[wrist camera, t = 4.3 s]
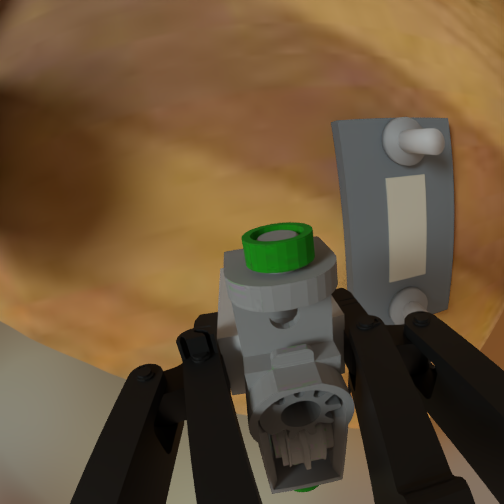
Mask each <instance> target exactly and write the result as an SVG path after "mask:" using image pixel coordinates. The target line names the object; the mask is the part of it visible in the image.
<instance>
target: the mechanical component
mask: <svg viewBox="0 0 504 504" xmlns="http://www.w3.org/2000/svg"><path fill="white" fill-rule="evenodd" d="M242 244H243V249H239V250H233V251H227V252H224V277H225V282H226V287H227V292H228V297H229V299H230V301H231V303H232V308H233V313H234V317H235V322H236V327H237V331H238V336H239V341H240V345H241V350H242V355H243V366H244V378H245V390H246V402H247V413H248V424H249V430H250V434H251V435H252V437H253V439H254V440H256V441H257V442H258V444H259V448H260V452H261V455H262V459H263V463H264V467H265V470H266V474H267V478H268V481H269V484H270V488H271V492H272V494H274V493H280V492H286V491H292V490H294V491H297V492H308V491H311V490H314V489H315V488H316V487H318V486H319V485H321V484H325V483H329V482H334V481H337V480H341V479H342V478H343V471H344V462H345V454H346V443H347V433H348V424H349V422H350V421H351V419H352V416H353V413H354V402H353V399H352V397H351V394H350V392H349V390H348V388H347V386H346V384H345V382H344V380H343V377H342V375H341V355H340V353H339V351H338V349H337V347H336V345H335V343H334V341H333V326H332V301H331V294H332V293H333V292H334V290H335V289H336V287H337V285H338V280H337V262H336V255H335V254H334V252H333V251H332V250H331V249H330V248H329V247H328V246H327V245H326V244H325V243H324V242H323V241H322V240H321V239H320V238H319V237H317V236H316V237H313V230H312V227H311V226H310V225H307V224H304V223H290V222H289V223H277V224H270V225H265V226H261V227H258V228H255V229H252V230H250V231H248V232H246V233H245V234H244V235H243V236H242Z"/></svg>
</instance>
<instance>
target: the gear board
mask: <svg viewBox="0 0 504 504" xmlns="http://www.w3.org/2000/svg"><path fill="white" fill-rule="evenodd" d="M331 125H332V132H333V139H334V146H335V153H336V160H337V168H338V176H339V185H340V194H341V204H342V215H343V226H344V239H345V253H346V270H347V290H348V291H350V292H351V293H352V295H353V296H354V297H355V298H356V300H357V301H358V303H360V305H361V306H362V307H363V308H364V310H365V311H366V312H367V313H368V315H373V316H377V317H379V318H380V319H381V320H382V321H383V322H384V324H385V325H399V324H404V320H405V317H406V316H407V315H408V314H410V313H412V312H416V311H425V312H429V313H431V314H435V313H438V312H441V311H444V310H447V309H448V303H449V294H450V285H451V275H452V262H453V244H454V180H453V163H452V150H451V140H450V131H449V122H448V118H408V117H400V118H375V119H355V120H339V121H334V122H331Z"/></svg>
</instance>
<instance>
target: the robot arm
mask: <svg viewBox="0 0 504 504" xmlns="http://www.w3.org/2000/svg"><path fill="white" fill-rule="evenodd" d="M331 301H332V326H333V341H334V343H335V345H336V347H337V349H338V351H339V353H340V355H341V374H343V373H345V364H346V365H347V367H348V369H349V378H348V390H349V392H350V393H351V392H352V396H353V401H354V405H355V409H356V413H357V418H358V422H359V427H360V431H361V436H362V440H363V445H364V450H365V454H366V459H367V464H368V469H369V475H370V480H371V484H372V491H373V495H374V502H375V504H475V502H474V499H473V496H472V494H471V491H470V488H469V486H468V484H467V482H466V480H464V479H463V478H462V477H457V476H454V475H452V472H451V470H450V468H449V465H448V463H447V460H446V457H445V455H444V452H443V450H442V447H441V445H440V442H439V440H438V437H437V435H436V432H435V430H434V428H433V425H432V423H431V421H430V418H429V416H428V414H429V415H430V416H431V417H432V418H433V420H434V421H435V422H436V423H437V424H438V426H439V427H440V428H441V429H442V431H443V432H444V433H445V434H446V436H447V437H448V438H449V439H450V440H451V442H452V443H453V444H454V445H455V447H456V448H457V449H458V450H459V452H460V453H461V454H462V455H463V457H464V458H465V459H466V460H467V462H468V463H469V464H470V466H471V467H472V468H473V469H474V471H475V472H476V473H477V474H478V476H479V477H480V478H481V480H482V481H483V482H484V483H485V484H486V486H487V487H488V489H489V490H490V491H491V493H492V494H493V495H494V496H495V498H496V499H497V500H498V502H499V503H500V504H504V371H503V370H502V369H501V368H500V367H499V366H497V365H496V364H495V363H494V362H493V361H491V360H490V359H489V358H488V357H487V356H485V355H484V354H483V353H482V352H480V351H479V350H478V349H477V348H476V347H474V346H473V345H472V344H471V343H469V342H468V341H467V340H466V339H464V338H463V337H462V336H461V335H459V334H458V333H457V332H455V331H454V330H453V329H452V328H450V327H449V326H448V325H447V324H445V323H444V322H443V321H441V320H440V319H439V318H437V317H436V316H435V315H433V314H431V313H429V312H425V311H416V312H412V313H410V314H408V315H407V316H406V317H405V320H404V324H399V325H385V324H384V322H383V321H382V320H381V319H380V318H379V317H377V316H373V315H368V313H367V312H366V311H365V310H364V308H363V307H362V306H361V305H360V303H358V301H357V300H356V298H355V297H354V296H353V295H352V293H351V292H350V291H348V290H346V289H344V288H339V289H335V290H334V292H333V293H332V294H331ZM176 343H177V346H178V349H179V352H180V355H181V358H182V361H183V363H182V364H181V365H179V366H177V367H175V368H172V369H169V370H166V371H163V370H162V368H161V367H160V366H158V365H156V364H145V365H141V366H139V367H137V368H136V369H134V370H133V371H132V372H131V373H130V374H129V376H128V378H127V380H126V382H125V384H124V386H123V388H122V390H121V392H120V394H119V396H118V399H117V400H116V402H115V404H114V407H113V409H112V411H111V413H110V415H109V417H108V419H107V421H106V423H105V426H104V428H103V430H102V432H101V434H100V436H99V439H98V441H97V443H96V445H95V447H94V449H93V452H92V454H91V456H90V458H89V461H88V463H87V465H86V467H85V470H84V472H83V474H82V477H81V479H80V481H79V484H78V486H77V488H76V491H75V493H74V495H73V498H72V500H71V503H70V504H166V500H167V496H168V491H169V486H170V482H171V478H172V473H173V469H174V464H175V460H176V456H177V452H178V447H179V443H180V439H181V434H182V430H183V426H184V420H187V425H188V436H189V446H190V455H191V463H192V471H193V479H194V486H195V493H196V500H197V504H262V501H261V498H260V495H259V492H258V488H257V485H256V482H255V478H254V475H253V472H252V469H251V465H250V462H249V458H248V455H247V452H246V448H245V444H244V441H243V437H242V434H241V430H240V427H239V423H238V419H237V416H236V412H235V408H234V404H233V401H232V397H231V392H232V395H237V394H244V393H246V390H245V378H244V366H243V355H242V350H241V345H240V341H239V336H238V331H237V327H236V322H235V317H234V313H233V308H232V303H231V301H230V299H229V297H228V292H227V287H226V282H225V277H224V268H221V269H220V284H219V303H218V312H215V313H208V314H202V315H200V316H199V317H198V318H197V319H196V320H195V323H194V328H193V329H190V330H187V331H185V332H183V333H181V334H180V335H179V336H178V338H177V340H176ZM431 362H432V363H433V364H434V365H435V366H434V365H433V364H432V363H431ZM230 388H231V389H230ZM427 412H428V414H427Z"/></svg>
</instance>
